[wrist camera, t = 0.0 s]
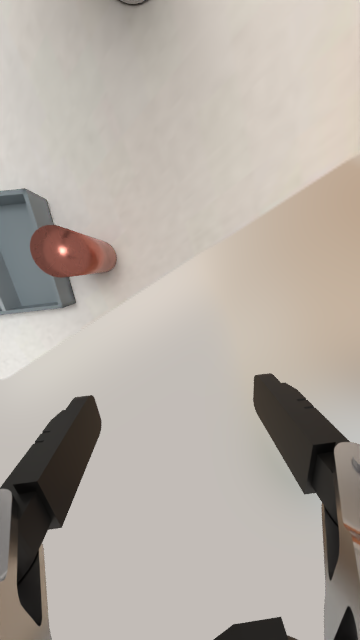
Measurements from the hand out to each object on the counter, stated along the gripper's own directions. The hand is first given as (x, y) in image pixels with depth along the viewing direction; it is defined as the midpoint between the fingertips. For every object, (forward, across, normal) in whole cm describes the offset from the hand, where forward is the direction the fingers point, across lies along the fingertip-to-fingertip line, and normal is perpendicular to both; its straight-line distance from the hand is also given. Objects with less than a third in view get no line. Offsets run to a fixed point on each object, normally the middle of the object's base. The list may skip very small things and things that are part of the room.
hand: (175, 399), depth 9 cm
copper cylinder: (+29, +12, -9) cm, 33 cm away
